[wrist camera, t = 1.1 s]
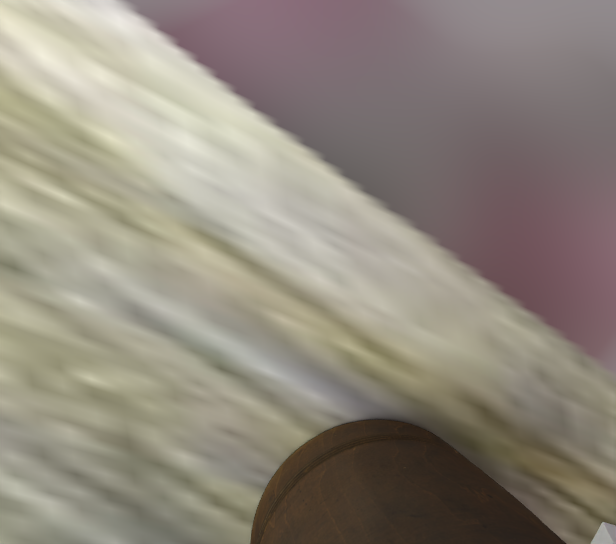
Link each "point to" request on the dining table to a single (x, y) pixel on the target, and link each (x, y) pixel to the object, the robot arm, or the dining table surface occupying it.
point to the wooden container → (389, 493)
